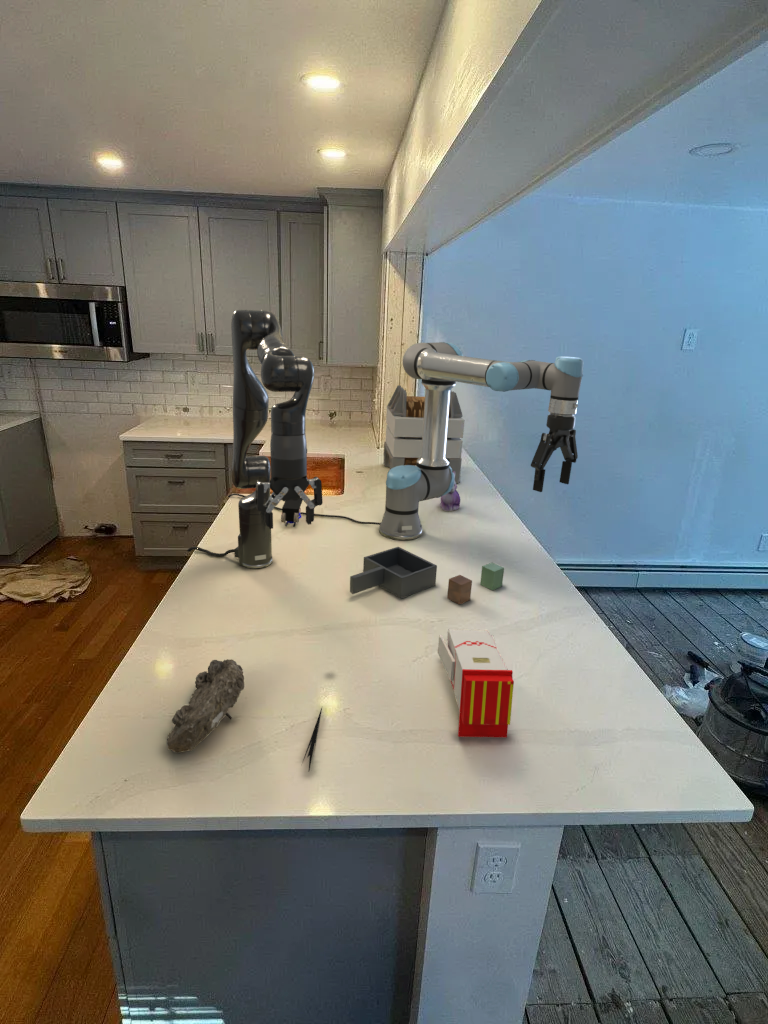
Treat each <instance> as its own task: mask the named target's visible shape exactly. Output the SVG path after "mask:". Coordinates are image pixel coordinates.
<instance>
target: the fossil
mask: <svg viewBox="0 0 768 1024" xmlns="http://www.w3.org/2000/svg"><path fill="white" fill-rule="evenodd" d="M243 670H244V669H243V667H242V665H240V664H237V662H236V661H235V660H234V659H232V658H231V659H227V658H226V659H224V660H223V661H222V660H217V659H212V660H211V661H210V663H209V665H208V666H207V671H201V672H199V673H198V674H197V675H196V676H195V680H194V684H195V685H194V687H195V689H194V690H193V693H192V694H191V697H190V698H189V700H188V704H184V705H182V706H181V707H180V709H177V710H176V711H175V713H174V715H173V716H172V718H171V723H172V724H173V727H172V730H171V731H170V732H168V734H167V738H166V741H167V742H166V745H167V749H168V750H169V751H173V752H174V753H176V754H178V753H182V752H188V751H189V752H192V751H193V750H195V748H196V747H197V746H199V744H200V743H201V742H203V741H204V740H205V739H206V738H207V737H208V736H209V735H210V734H211V733H212V732H214V730H215V729H217V727H218V726H219V724H220V722H221V721H222V720H223V719H224V718H225V716H226V717H227V719H229V720H233V717H232V715H230V714H229V710H230V709H231V708H234V706H235V704H236V703H237V702H238V699H239V697H240V695H241V693H242V691H243V690H245V689H244V688H245V675H244V671H243Z"/></svg>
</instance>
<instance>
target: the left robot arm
mask: <svg viewBox="0 0 768 1024" xmlns="http://www.w3.org/2000/svg"><path fill="white" fill-rule="evenodd" d="M230 326H231V327H230V328H231V347H232V365H233V381H232V382H233V383H232V385H233V388H232V425H233V426H232V429H233V433H232V434H233V436H232V437H233V438H232V439H233V441H232V454H231V467H230V468H231V472H230V474H231V482H232V484H233V486H234V488H236V489H238V490H239V489H241V490H246V489H255V490H254V491H253V492H252V493H249V494H248V495H244V496H245V497H242V498H241V499H239V501H238V505H237V506H238V523H239V524H238V525H239V526H238V527H239V534H238V535H237V546H236V547H235V548H232V549H227V550H226V551H224V552H223V553H217V552H212V551H210V550H209V549H205V548H203V547H199V546H191V547H189V548H188V549H187V550H186V552H191V551H193V550H195V551H200V552H201V553H205V554H207V555H209V556H212V557H217V558H220V557H226V556H228V555H229V554H231V553H232V554H234V558H236V559H237V558H238V565H239V566H240V567H241V566H242V567H244V568H247V569H262V568H266V567H269V566H270V565H272V563H273V547H272V546H273V545H272V530H273V529H274V512H273V510H274V507H277V506H278V505H279V504H280V502H285V501H288V500H298V499H299V498H302V499H303V501H302V502H304V503H305V504H306V506H305V513H306V515H305V523H306V524H307V525H312V522H314V521H315V516H314V514H315V508H316V507H318V506H322V505H323V503H324V502H323V501H324V500H323V488H322V487H323V485H322V484H323V483H322V480H321V478H319V477H318V476H314V477H313V478H308V444H307V437H306V436H307V435H306V414H307V413H306V412H307V407H308V402H309V398H310V394H311V391H312V388H313V384H314V379H315V367H314V364H313V363H312V361H311V360H310V359H309V358H308V357H307V356H305V355H295V353H294V352H293V351H292V349H291V348H290V346H289V345H288V344H287V342H286V341H285V340H286V339H285V336H284V333H283V330H282V327H281V323H280V321H279V319H278V317H277V316H276V314H275V313H274V312H272V311H269V310H262V309H261V310H258V309H236V310H235V311H234V312H233V313H232V316H231V325H230ZM248 351H256V354H257V355H256V356H257V359H258V361H259V363H260V365H261V367H260V379H261V380H260V379H259V378H258V376H257V375H256V373H255V371H254V370H253V368H252V366H251V364H250V362H249V360H248V357H247V352H248ZM267 390H268V391H270V392H273V393H292V392H293V395H292V397H291V398H290V399H288V400H285V401H283V402H279V403H275V404H273V405H272V407H271V408H270V431H271V433H270V444H269V445H270V446H269V447H270V448H269V449H270V452H269V453H270V458H269V457H268V456H266V455H249V456H248V455H247V453H248V451H249V449H250V447H251V445H252V443H253V442H254V440H255V439H257V437H258V436H259V434H260V433H261V432H262V431H263V430H264V428H265V426H266V424H267V423H268V420H269V403H270V399H269V395H268V392H267ZM269 459H270V460H269ZM309 486H310V487H311V488H312V489H313V499H310V497H308V495H307V494H306V493H305V492H306V491H307V489H308V488H309ZM271 491H272V493H271ZM197 548H198V549H197Z"/></svg>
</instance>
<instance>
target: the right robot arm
mask: <svg viewBox="0 0 768 1024" xmlns="http://www.w3.org/2000/svg"><path fill="white" fill-rule="evenodd" d="M402 367H403V371H404V372H405V373H406V374H407V376H409V377H410V378H412V379H414V380H421V385H422V386H423V387H424V389H425V392H424V397H425V405H424V420H423V436H422V452H421V457H420V458H419V459H418V460H417V463H416V466H413V465H401V466H396V467H394V468H392V469H390V468H389V470H388V472H387V474H386V479H385V504H384V505H385V507H384V508H385V509H384V513H383V515H382V519H381V522H375V521H359V520H357V519H354V518H351V517H349V516H346V515H345V516H344V515H338V514H337V515H335V514H321V513H314V517H324V518H337V519H345V520H348V521H351V522H353V523H356V524H361V525H377V526H378V533H379V534H380V535H381V536H382V537H385V538H387V539H389V540H395V541H410V540H415V539H418V538H420V537H421V536H422V535H423V525H422V524H421V518H420V515H419V507H420V506H419V505H420V502H423V501H428V500H432V499H438V498H439V499H440V498H441V496H443V495H446V494H448V493H449V492H450V491H451V489H452V488H453V485H454V479H455V478H454V473H453V472H452V471H453V470H452V468H451V467H450V466H449V461H448V460H447V459H446V458H445V455H446V442H447V430H448V417H449V404H450V392H451V391H452V389H453V388H454V387H455V386H456V383H463V384H467V385H474V386H479V387H486V388H490V389H491V390H492V391H494V392H501V393H502V392H509V391H519V390H521V391H522V390H531V389H535V390H536V389H537V390H544V391H550V395H549V396H550V397H549V403H548V409H547V411H548V412H549V413H548V414H547V416H546V417H547V418H546V424H545V425H546V427H547V428H548V429H549V431H548V433H546V432H542V433H541V436H540V440H539V444H538V445H537V448H536V450H535V453H534V456H533V458H532V461H531V463H530V467H531V468H533V469H534V475H533V486H532V490H533V491H535V492H539V493H543V490H544V483H545V475H546V469H545V467H546V465H547V464H548V463H549V460H550V459H551V457H552V455H553V453H554V452H555V451H557V449H560V451H561V454H562V457H563V459H564V460H562V463H561V469H560V476H559V483H561V484H564V485H569V484H570V479H571V473H572V467H573V466H572V465H573V463H574V464H576V463H577V460H578V458H579V457H578V447H577V438H576V435H577V430H576V429H575V425H576V416H575V415H576V414H577V409H578V408H579V403H578V402H579V397H580V390H581V384H582V378H583V376H584V374H583V373H584V360H583V359H582V358H581V357H578V356H577V357H576V356H564V355H563V356H556V358H555V361H554V362H546V361H539V360H536V359H535V360H534V359H523V360H521V361H504V360H497V359H496V360H495V359H488V358H480V357H474V356H473V357H472V356H465V355H464V354H463V352H462V350H461V349H460V347H459V346H457V345H456V344H454V343H451V342H445V341H443V342H442V341H441V342H440V341H439V342H438V341H437V342H417V343H414V344H412V345H410V346H408V348H406V350H405V352H404V354H403V356H402ZM232 496H238V497H242V498H243V497H245V496H246V495H244V494H240V493H231V494H229V495H228V496H227V498H231V497H232ZM274 509H275V510H278V511H282V507H278V506H275V507H274ZM274 509H273V510H274ZM300 515H303V516H304V515H305V516H306V512H302V511H301V514H300Z"/></svg>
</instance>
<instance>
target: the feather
mask: <svg viewBox="0 0 768 1024" xmlns="http://www.w3.org/2000/svg"><path fill="white" fill-rule="evenodd" d="M329 675H330V676H331V675H332V674H331V673H330V674H329ZM322 710H323V707H321V708H320V710H319V713H318V716H317V719H316V723H315V725H314V728H313V731H312V733H311V737H310V739H309V742H308V745H307V748H306V751H305V754H304V757H303V760H302V763H301V767H302V765H303V763H304V761H305V758H308V759H309V760H308V762H307V763H308V764H307V766H308V771H310V770H311V766H312V765H311V764H312V760H313V757H315V756H314V755H315V751H316V749H315V746H317V739H318V733H319V729H320V722H321V717H322V712H323V711H322ZM313 754H314V755H313ZM306 755H307V757H306Z"/></svg>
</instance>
